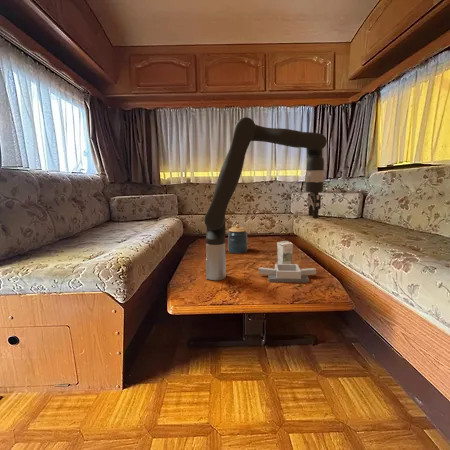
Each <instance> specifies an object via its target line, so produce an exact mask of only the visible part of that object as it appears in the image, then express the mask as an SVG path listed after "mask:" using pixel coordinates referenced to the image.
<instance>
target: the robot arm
mask: <svg viewBox="0 0 450 450" xmlns="http://www.w3.org/2000/svg"><path fill="white" fill-rule="evenodd" d="M251 142H265V143H271V144H275V145H280V146H285V147H290V148H298V149H299V148H301V149H302V148H304V149H306V155H307V156H306V157H307V163H306V175H305V176H306V177H305V192H306V193H307V204H306V205H307V208H308V213H307V214H308V216H309V217H312V219H317V220H318V219H319V211H320V209H321V203H322V202H321V201H322V196H321V195H320V194H319V193H322V192H324V179H325V175H324V174H325V173H324V170H325V169H324V166H325V159H324V158H323V149H324V148H325V147H326V145H327V143H328V140H327V138H326V136H325V135H324V134H322V133H319V132H313V131H311V132H310V131H300V130H296V129H289V128H282V127H281V128H280V127H279V128H277V127H273V128H272V127H265V126H261V125H258V124H255V121H254V120H253V119H252V118H250V117H248V116H246V117H241V118H240V119H239V120H237V122H236V124H235V125H234V130H233V134H232V139H231V144H230V147H229V149H228V150H227V154H226V156H225V158H224V161H223V163H222V166H221V168H220V171H219V173H218V177H217V181H216V185H215V187H214V192H213V197H212V201H211V203H210V204H209V207H208V209H207V211H206V214H205V215H204V218H203V219H204V225H205V228H206V232H205V233H206V235H205V249H206V251H205V254H206V256H205V257H206V259H205V277H206V279H205V280H211V281H221V280H224V279H226V277H227V263H226V262H227V261H226V258H227V257H226V236H227V235H226V213H227V209H228V207H229V203H230V200H232V197H233V195H234V193H235V191H236V190H237V189H236V188H237V187H238V183H239V181H240V178H241V175H242V172H243V168H244V162H245V159H246V155H247V152H248V151H247V150H248V148H249V146H250V144H251Z"/></svg>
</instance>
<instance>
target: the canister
mask: <svg viewBox="0 0 450 450" xmlns="http://www.w3.org/2000/svg"><path fill="white" fill-rule="evenodd" d="M227 236H228V237H227V250H228V252H229V253H232V254H245V253H247V252H248V249H249V247H248V239H249V238H248V232H247V229H246V228H245V227H243V226H240V224H238V223H237V224H236V225H235V226H233V227H230V228H229V229H228V233H227Z"/></svg>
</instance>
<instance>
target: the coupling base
mask: <svg viewBox="0 0 450 450" xmlns="http://www.w3.org/2000/svg"><path fill="white" fill-rule="evenodd" d="M258 274H260V275H267V278H268V279H267V280H268V282H269V283H300V284H301V283H303V284H304V283H305V284H306V283H310V278H309V277H308V276H313V275H317V269H316V268H315V267H310V268H300V266H299V264H298V263H292V264H277V263H274V268H271V267H270V268H269V267H258Z"/></svg>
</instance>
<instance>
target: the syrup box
mask: <svg viewBox="0 0 450 450" xmlns="http://www.w3.org/2000/svg"><path fill="white" fill-rule="evenodd" d="M276 244H277V245H276V248H277V249H276V250H277V251H276V252H277V253H276V264H293V249H294V245H293V243H292V242H291V241H288V240H284V241H277V243H276Z"/></svg>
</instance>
